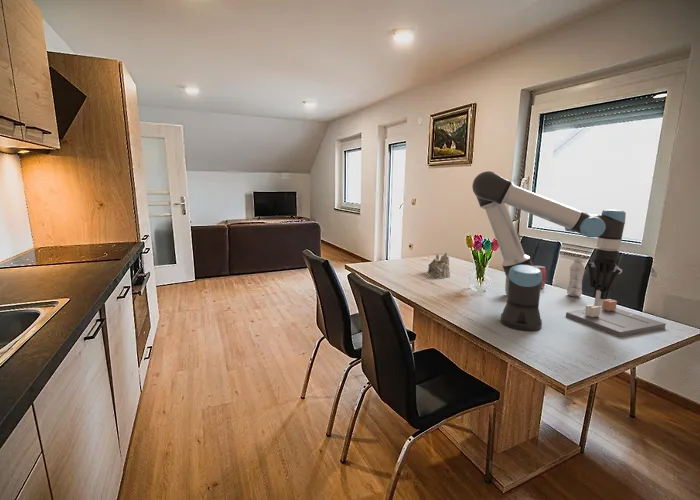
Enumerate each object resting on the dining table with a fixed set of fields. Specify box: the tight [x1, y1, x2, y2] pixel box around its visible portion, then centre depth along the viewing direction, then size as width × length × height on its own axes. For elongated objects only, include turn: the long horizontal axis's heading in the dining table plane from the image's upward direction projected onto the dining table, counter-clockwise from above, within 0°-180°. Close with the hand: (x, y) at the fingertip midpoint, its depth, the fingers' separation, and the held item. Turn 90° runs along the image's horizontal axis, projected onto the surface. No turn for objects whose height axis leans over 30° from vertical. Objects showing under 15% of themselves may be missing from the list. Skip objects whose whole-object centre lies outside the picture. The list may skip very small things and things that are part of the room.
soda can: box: [533, 265, 547, 290], centre depth 191 cm, size 7×7×12 cm
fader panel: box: [565, 306, 666, 338], centre depth 142 cm, size 26×22×2 cm
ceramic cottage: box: [426, 252, 451, 280], centre depth 217 cm, size 16×16×15 cm
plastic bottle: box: [566, 256, 586, 298], centre depth 175 cm, size 6×7×20 cm
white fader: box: [585, 303, 602, 317], centre depth 143 cm, size 4×3×4 cm
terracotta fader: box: [601, 298, 618, 311], centre depth 150 cm, size 4×3×4 cm
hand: (598, 305), depth 140 cm, fingers closed
